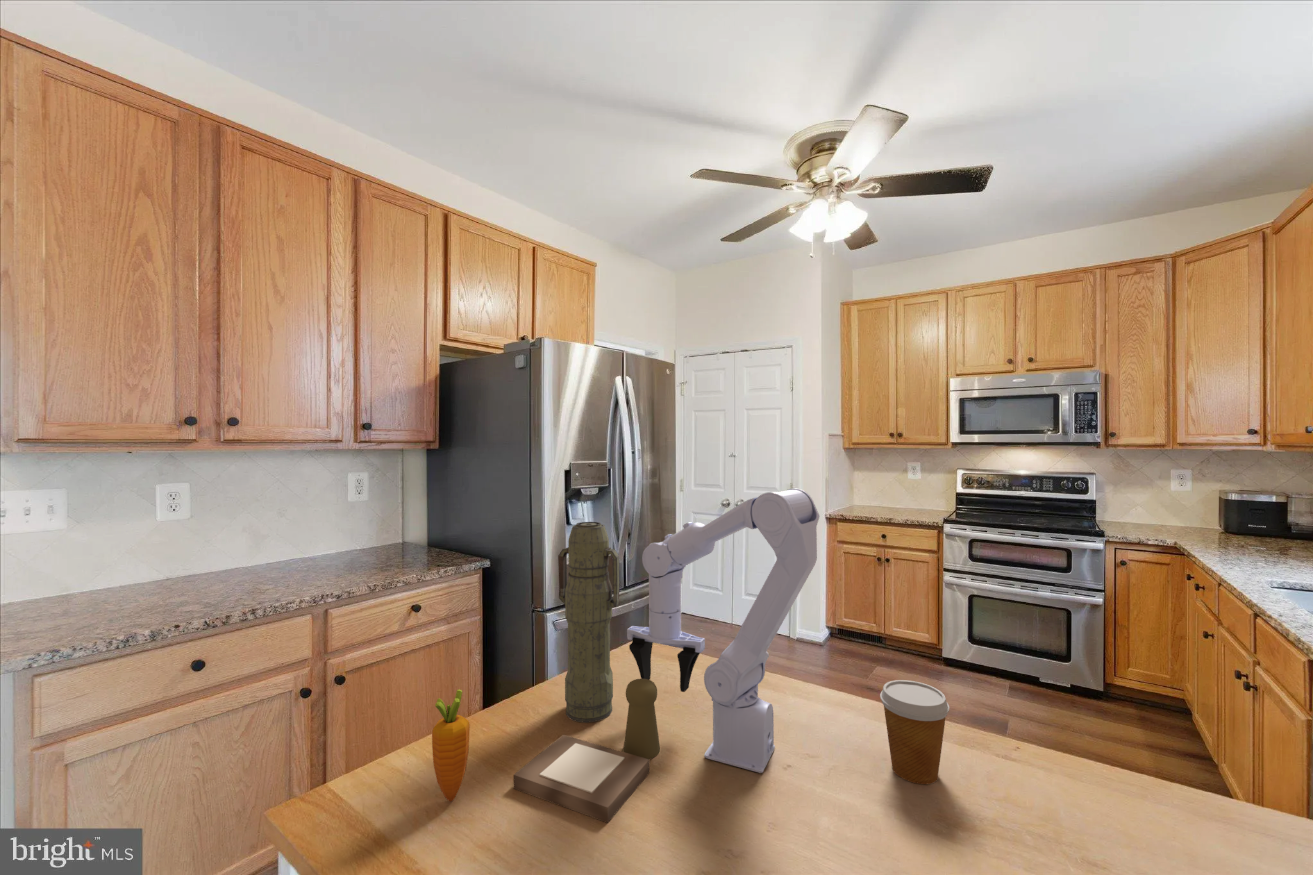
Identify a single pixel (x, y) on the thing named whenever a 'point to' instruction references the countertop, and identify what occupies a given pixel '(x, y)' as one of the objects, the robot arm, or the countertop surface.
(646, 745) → the olive pawn piece
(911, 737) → the disposable coffee cup
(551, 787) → the walnut plinth
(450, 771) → the carrot
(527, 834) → the countertop surface
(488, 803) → the countertop surface
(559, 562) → the thermos
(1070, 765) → the countertop surface
